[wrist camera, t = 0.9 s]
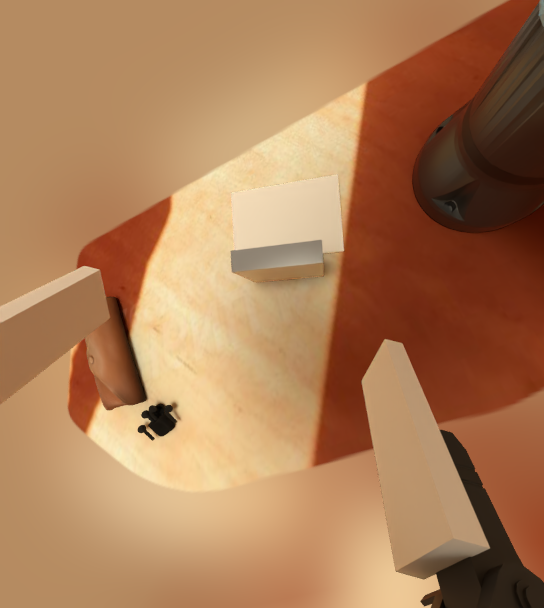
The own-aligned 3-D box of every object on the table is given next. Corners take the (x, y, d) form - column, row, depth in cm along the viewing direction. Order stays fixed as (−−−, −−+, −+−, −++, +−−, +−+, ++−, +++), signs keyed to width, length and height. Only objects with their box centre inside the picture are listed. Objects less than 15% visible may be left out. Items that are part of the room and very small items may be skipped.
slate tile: (322, 258, 36) (321, 237, 26) (323, 276, 36) (323, 262, 26) (254, 265, 38) (230, 248, 28) (256, 282, 38) (231, 272, 28)
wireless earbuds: (151, 447, 39) (127, 425, 38) (158, 435, 42) (136, 414, 41) (183, 422, 38) (160, 399, 37) (189, 412, 41) (167, 390, 40)
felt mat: (337, 175, 36) (338, 173, 35) (344, 251, 35) (344, 251, 35) (231, 193, 39) (230, 192, 39) (235, 263, 38) (234, 263, 38)
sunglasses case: (78, 313, 44) (60, 306, 38) (123, 302, 46) (112, 293, 40) (107, 414, 42) (92, 423, 36) (151, 396, 45) (144, 402, 38)
